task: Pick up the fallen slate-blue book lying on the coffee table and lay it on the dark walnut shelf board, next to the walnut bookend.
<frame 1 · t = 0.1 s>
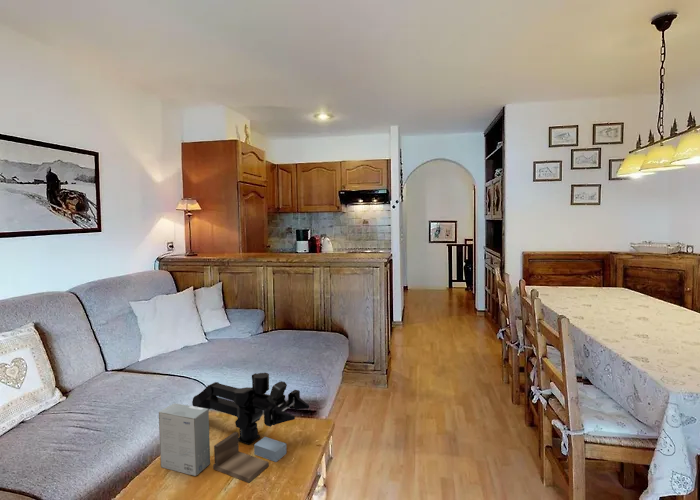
hand: (302, 412, 140), 17 cm above the table, tool horizontal, fingers open, 9 cm apart
hard drive box: (185, 466, 135), on the table
slate book: (270, 454, 142), on the table
walnut shelf: (241, 467, 134), on the table
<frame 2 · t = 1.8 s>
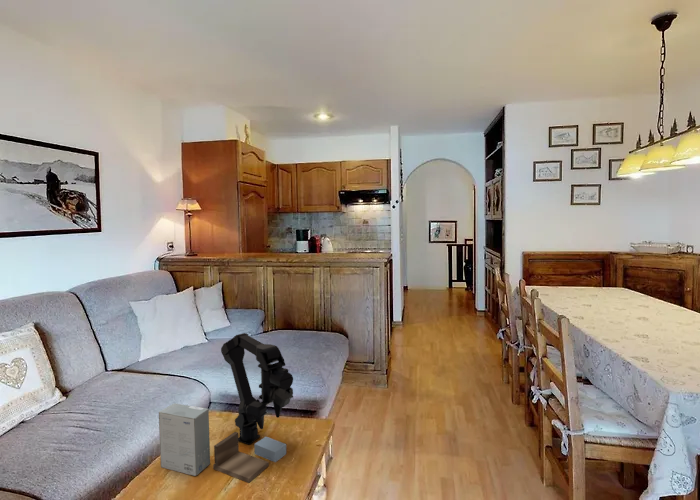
hand: (269, 422, 142), 12 cm above the table, tool pointing down, fingers open, 9 cm apart
nothing on the table moved.
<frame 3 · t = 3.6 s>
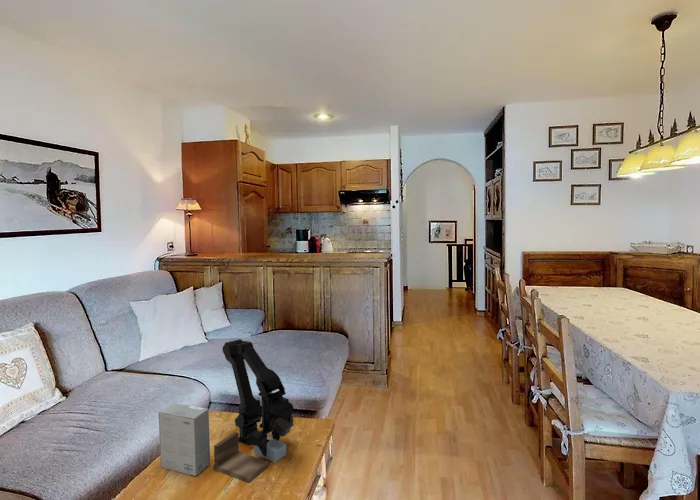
hand: (270, 451, 142), 1 cm above the table, tool pointing down, fingers closed on slate book, 6 cm apart
slate book: (270, 454, 142), on the table, touching gripper
everything else where it was.
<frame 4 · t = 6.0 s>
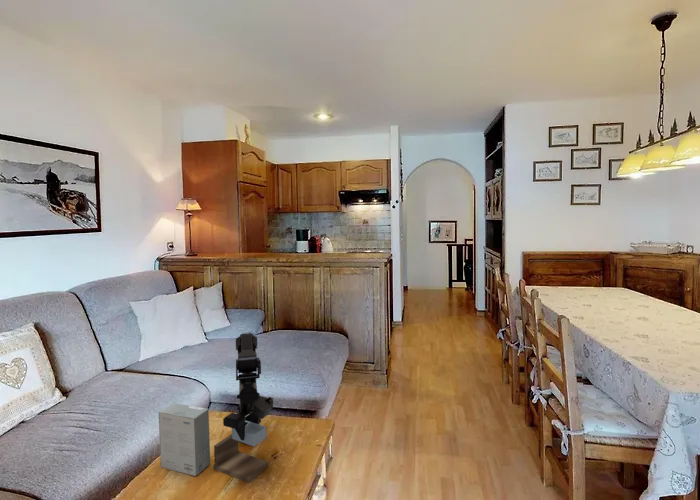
hand: (248, 435, 134), 11 cm above the table, tool pointing down, fingers closed on slate book, 6 cm apart
slate book: (249, 438, 134), point 10 cm above the table, touching gripper
everything else where it was.
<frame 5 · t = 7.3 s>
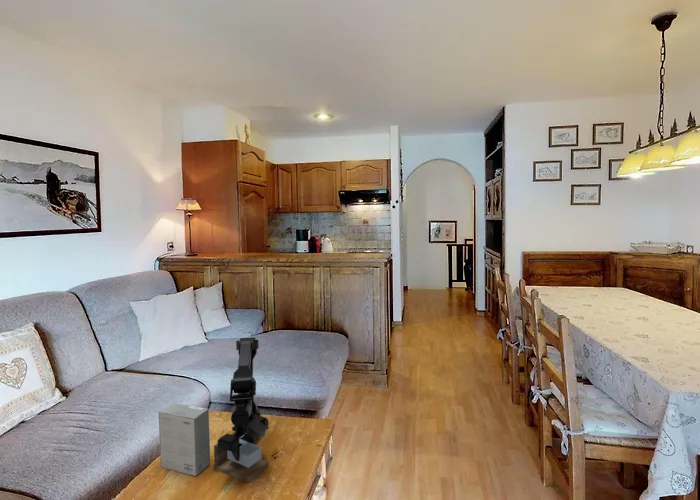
hand: (244, 455, 133), 5 cm above the table, tool pointing down, fingers closed on slate book, 6 cm apart
slate book: (244, 458, 133), point 4 cm above the table, touching gripper
everything else where it was.
when the fingers open (4 cm above the table, at t = 8.3 s): slate book drops 1 cm, resting on walnut shelf.
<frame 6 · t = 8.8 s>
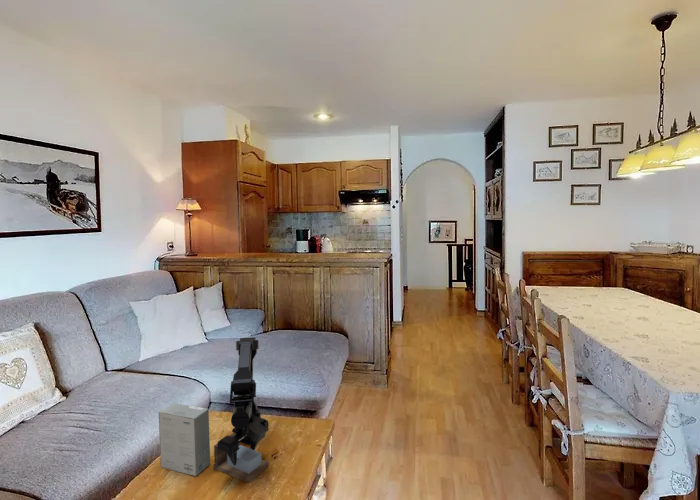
hand: (244, 457, 133), 4 cm above the table, tool pointing down, fingers open, 9 cm apart
slate book: (244, 464, 133), point 1 cm above the table, touching walnut shelf
everything else where it was.
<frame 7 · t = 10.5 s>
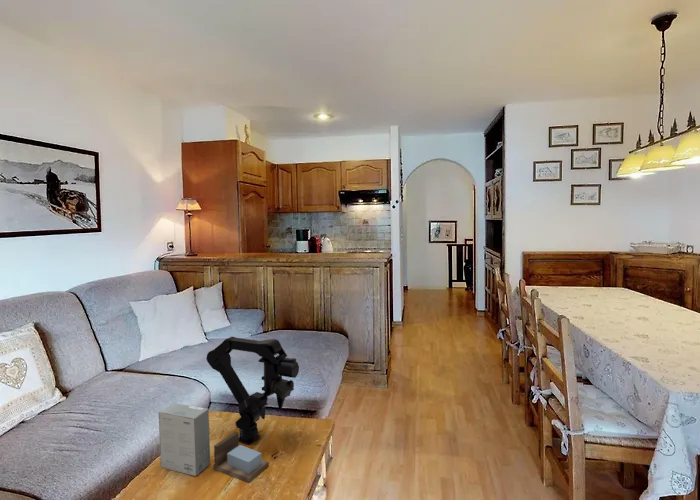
hand: (271, 413, 148), 12 cm above the table, tool pointing down, fingers open, 9 cm apart
nothing on the table moved.
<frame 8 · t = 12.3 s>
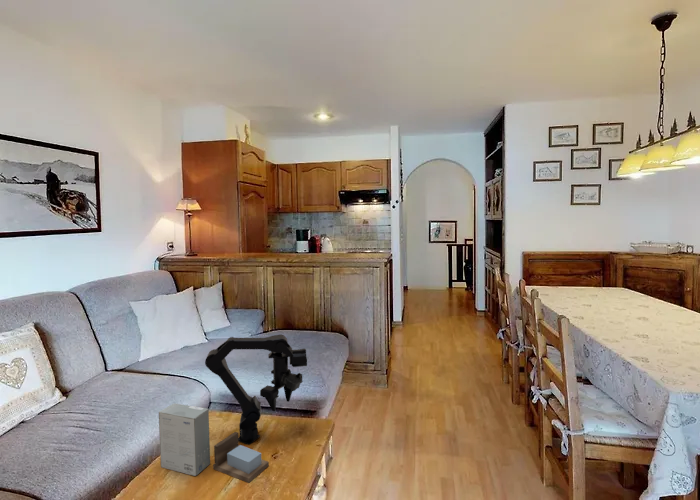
hand: (281, 406, 154), 12 cm above the table, tool pointing down, fingers open, 9 cm apart
nothing on the table moved.
at the end: slate book 0.1 cm from the target spot on the walnut shelf, point 1.5 cm above the walnut shelf's base; slate book tilted 0°; the gripper is holding nothing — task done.
